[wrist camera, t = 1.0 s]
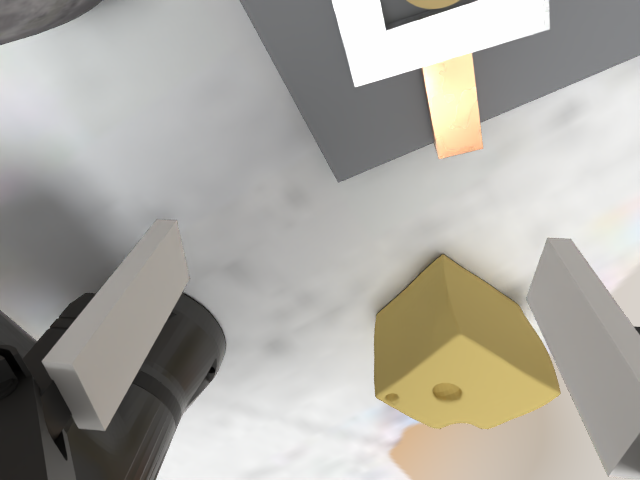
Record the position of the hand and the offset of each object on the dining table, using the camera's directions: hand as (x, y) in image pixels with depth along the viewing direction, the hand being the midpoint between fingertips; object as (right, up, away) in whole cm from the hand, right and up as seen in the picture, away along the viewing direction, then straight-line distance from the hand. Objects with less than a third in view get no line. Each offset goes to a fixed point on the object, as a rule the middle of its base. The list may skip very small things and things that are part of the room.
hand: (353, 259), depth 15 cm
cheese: (+11, -6, +25) cm, 28 cm away
